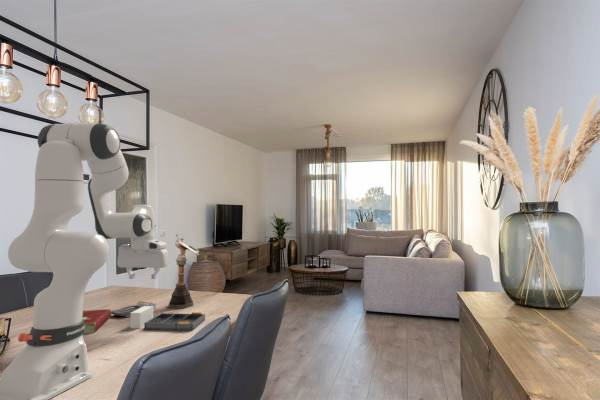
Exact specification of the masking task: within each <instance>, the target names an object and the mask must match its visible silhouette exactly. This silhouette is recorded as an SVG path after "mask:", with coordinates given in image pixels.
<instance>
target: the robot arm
mask: <svg viewBox="0 0 600 400" xmlns="http://www.w3.org/2000/svg"><path fill="white" fill-rule="evenodd" d="M37 144H38V147H39V149H38V151H37V152H38V153H37V157H36V162H35V163H36V164H35V171H34V204H33V210H32V214H31V218H30V219H29V222H28V224H27V226H26V227H25V229H24V230H23V232H21V233H20V234H19V235H18V236H17V237H15V238H14V239H13V240H12V242H11V243H10V244H9V247H8V249H7V250H8V251H7V257H8V261H9V262H10V264H11V265H12V266H13V267H14V268H16V269H19V270H22V271H28V272H32V273H53V274H52V275H53V276H52V280H51V282H50V284H49V286H48V287H46V288H44V289H42V290H41V291H40V292H38V293H37V294H36V295H35V297H34V300H33V317H32V318H33V322H32V327H31V328H30V331H29V332H28V333H23V332H21V333H19V335H18V336H17V341H18V342H19V343H22V342H24V343H26V345H25V346H24V347H23V349H22V350H21V351H20V352H19V353H18V354H17V356H16V357H15V358H14V359H13V360H12V361H11V363H10V364H8V366H7V367H6V368H5V369H4V370H3V372H2V374H1V376H0V400H51V399H52V398H54V397H55V396H58V395H59V394H61V393H63V392H65V391H67V390H69V389H71V388H74V387H75V386H77V385H79V384H81V383H83V382H84V381H86V380H88V379H90V378H92V377H93V376H92V375H93V374H92V371H91V370H90V369H89V360H88V350H87V345H86V342H85V339H84V334H85V333H84V328H85V325H84V319H83V311H84V297H85V293H86V288H87V285H88V283H89V282H90V280H91V278H92V277H93V275H94V274H95V273H96V272H97V271H98V270H99V269H101V268H102V267H103V266H104V265H105V264H106V263H107V261H108V259H109V256H110V252H111V251H110V245H109V242H108V240H111V239H113V240H114V239H128V238H130V240H131V241H130V243H128V244H126V243H124V244H121V245H119V247H118V254H117V255H118V256H117V261H116V265H117V267H118V268H125V270H126V272H127V275H128V279H131V280H132V279H135V278H136V276H135V275H136V274H135V273H133V271H132V270H133V268H139V269H140V268H141V269H142V268H143V269H145V268H150V269H152V268H153V270H154V272H153V273H152V274H151V280H157V279H158V273H159V271H160V269H162V268H163V269H164V268H166V267H168V265H169V264H170V261H169V260H170V257H169V256H170V255H169V252H168V250H167V247H168V244H167V242H165V241H162V240H158V239H156V235H155V227H156V217H155V216H156V215H155V210H154V209H155V208H154V207H153V206H152V205H150V204H148V203H147V204H145V203H135V204H134V205H133V206H132V210H131V211H129V212H114V211H112V210H110V206H109V202H108V197H107V194H109V193H111V192H115V191H116V190H119V189H120V188H121V187H122V186H124V185H125V183H127V181H128V180H129V179H128V178H129V174H130V172H129V168H128V165H127V161H126V159H125V157H124V155H123V152H122V150H121V140H120V136H119V133H118V132H117V131H116V129H115V128H113V126H111V125H109V124H105V123H100V122H99V123H89V122H88V123H83V122H82V123H81V122H67V123H53V124H48V125H46V126H43V127H42V128H41V129H40V131H39V133H38V135H37ZM82 161H83V162H84V161H86V163H87V165H88V166H87V167H88V168H89V170H90V173H91V178H90V179H89V181H88V184H87V191H88V196H89V201H90V204H91V209H92V212H93V213H92V214H93V217H94V229H95V231H96V233H94V232H87V231H67V228H68V224H69V222H70V221H71V219H72V218H74V217H76V216H77V215H79V214H80V213H81V212H82V210H83V208H84V206H85V204H84V202H85V198H84V196H85V194H84V193H85V192H84V191H85V190H84V185H85V183H84V179H85V178H84V168H83V162H82Z"/></svg>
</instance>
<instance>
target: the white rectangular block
mask: <svg viewBox="0 0 600 400" xmlns="http://www.w3.org/2000/svg"><path fill="white" fill-rule="evenodd" d="M154 311H155V310H154V306H143V307H141V308H139V309H137V310H135V311H133V312H131V316H130V320H129V321H130V324H129V325H130V329H142V328H143V327H144V323H145V322H147V321H149V320H151V319H152V318H154Z"/></svg>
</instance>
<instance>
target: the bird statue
mask: <svg viewBox="0 0 600 400" xmlns="http://www.w3.org/2000/svg"><path fill="white" fill-rule="evenodd" d="M175 237H176V238H177V239H175V242H174V243H175V246H176V248H178V249H179V250H180V253H179V254H177V258H176V259H175V261H176V265H177V266H178V267H177V268H178V273H177V276H178V280H177V281H178V282H177V283H176V284H175V288H174V291H172V293H171V298H170V301H169V302H168V309H173V308H174V310H177V309H179V310H180V309H187V308H191V307H193V306H194V300H193V298H192V297H191V292H190V290H188V287H187V284H186V282H185V279H184V278H185V265H187V260H188V259H187V258H186V252H187V250H190V251H191V252H192V253H194V254H195V255H197V256H198V257H199V256H200V250H198V249H197V248H195V247H193V245H187V244H186V243H185V242H184V238H183V236H181V235H180V234H178V233H176V234H175Z"/></svg>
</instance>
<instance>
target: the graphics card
mask: <svg viewBox="0 0 600 400" xmlns="http://www.w3.org/2000/svg"><path fill="white" fill-rule="evenodd" d="M156 305H157V303H153V302H148V301H140V300H139V301H137V304H133V305H128V306H125V307H122V308H117V309H113V310H111V313H112V314H111V315H114V316H119V317H125V318H130V317H131V312H133V311H135V310H137V309H139V308H141V307H143V306H154V311H156V309H157V306H156Z"/></svg>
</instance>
